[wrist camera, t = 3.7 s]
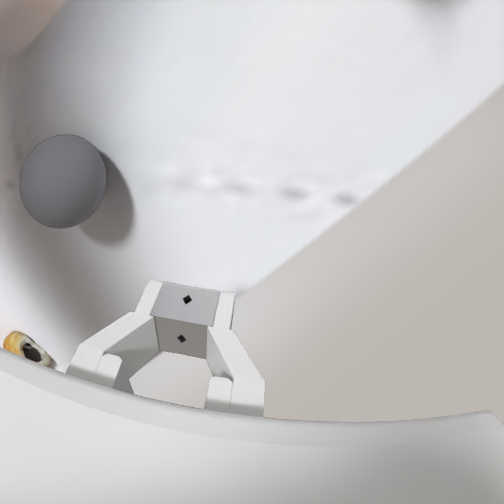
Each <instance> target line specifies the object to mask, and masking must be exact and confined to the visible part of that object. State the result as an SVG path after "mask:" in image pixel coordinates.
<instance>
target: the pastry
mask: <svg viewBox="0 0 504 504" xmlns="http://www.w3.org/2000/svg"><path fill="white" fill-rule="evenodd" d="M3 346H4V349H6V350H8V351H10V352H13V353H15V354H17V355H19V356H22V357H24V358H26V359H29V360H31V361H34V362H36V363H39V364H41V365H44V366H49V365H50V362H51V361H50V356H49V355H48V354H47V352H46V351H45V350H44V349H43V348H41V347H40V346H39V345H37V344H36V343H35V342H34V341H33V340H32V339H30V338H29V337H28V336H27V335H25V334H23V333H21V332H18V331H14V332H11V333H10V335H8V336H7V337H6V338H5V341H4V344H3Z"/></svg>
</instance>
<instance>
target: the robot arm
mask: <svg viewBox="0 0 504 504" xmlns="http://www.w3.org/2000/svg"><path fill="white" fill-rule="evenodd" d="M235 296H236V293H233V292H226V291H219V290H212V289H205V288H199V287H191V286H186V285H181V284H176V283H171V282H166V281H165V282H164V281H159V280H154V279H151V280H150V281H149V282H148V283H147V285H146V288H145V290H144V292H143V294H142V296H141V298H140V301H139V303H138V305H137V307H136V310H135V312H129V313H127V314H126V315H124V316H123V317H121V318H119V319H118V320H116V321H115V322H113V323H112V324H110V325H108V326H107V327H105V328H104V329H102V330H101V331H99V332H98V333H96V334H94V335H93V336H91V337H90V338H88V339H87V340H85V341H84V342H82V343H81V344H79V346H78V348H77V350H76V352H75V354H74V356H73V358H72V361H71V363H70V365H69V367H68V369H67V371H66V373H63V372H60V371H57V370H54V369H52V368H49V367H46V366H44V365H41V364H39V363H36V362H34V361H31V360H29V359H26V358H24V357H22V356H19V355H17V354H15V353H13V352H10V351H8V350H6V349H4V348H2V347H0V504H504V422H503V421H502V420H501V419H500V418H499V417H498V416H497V415H496V414H495V413H493V412H492V411H489V410H483V411H477V412H471V413H464V414H458V415H450V416H442V417H434V418H424V419H412V420H398V421H377V422H323V421H301V420H286V419H273V418H263V411H264V396H265V381H264V379H263V378H262V376H261V375H260V373H259V371H258V370H257V368H256V366H255V365H254V363H253V362H252V360H251V358H250V356H249V355H248V353H247V352H246V350H245V348H244V346H243V345H242V343H241V341H240V340H239V338H238V336H237V335H236V333H235V331H234V330H231V326H232V319H233V311H234V303H235ZM159 350H161V351H166V352H172V353H178V354H184V355H188V356H193V357H198V358H203V359H206V360H207V363H208V365H209V367H210V370H211V372H212V374H213V378H212V379H210V382H209V387H208V392H207V397H206V402H205V407H204V409H199V408H193V407H188V406H183V405H178V404H173V403H168V402H163V401H159V400H155V399H151V398H146V397H142V396H138V395H134V393H133V390H132V387H131V385H130V382H129V378H130V377H132V376H133V375H134V374H135V373H136V372H137V371H138V370H139V369H140V368H142V367H143V366H144V365H145V364H146V363H147V362H148V361H149V360H150V359H152V358H153V357H154V356H155V355H156V354H157V353H158V352H159Z"/></svg>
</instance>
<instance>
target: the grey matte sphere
mask: <svg viewBox="0 0 504 504" xmlns="http://www.w3.org/2000/svg"><path fill="white" fill-rule="evenodd" d="M105 188H106V168H105V165H104V162H103V159H102V157H101V155H100V153H99V152H98V150H97V149H96V148H95V147H94V146H93V145H92V144H91V143H90V142H88V141H87V140H85V139H83V138H81V137H79V136H75V135H68V134H64V135H57V136H53V137H50V138H48V139H46V140H44V141H43V142H41V143H40V144H39V145H37V146H36V147H35V148H34V149H33V150H32V152H31V153H30V154H29V156H28V157H27V159H26V161H25V163H24V165H23V168H22V171H21V175H20V194H21V198H22V201H23V204H24V206H25V208H26V209H27V211H28V212H29V214H30V215H31V216H32V217H33V218H34V219H35V220H37V221H38V222H40V223H41V224H43V225H45V226H48V227H52V228H68V227H72V226H75V225H77V224H80V223H81V222H83V221H84V220H86V219H87V218H88V217H89V216H91V215H92V214H93V213H94V211H95V210H96V209H97V207H98V206H99V204H100V202H101V200H102V198H103V195H104V192H105Z"/></svg>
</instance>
